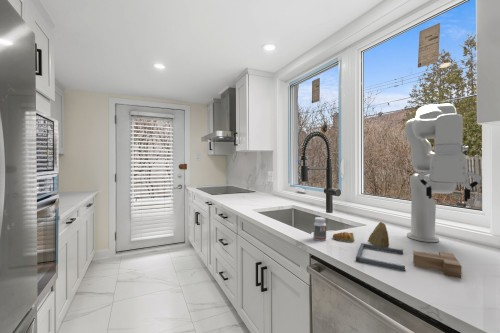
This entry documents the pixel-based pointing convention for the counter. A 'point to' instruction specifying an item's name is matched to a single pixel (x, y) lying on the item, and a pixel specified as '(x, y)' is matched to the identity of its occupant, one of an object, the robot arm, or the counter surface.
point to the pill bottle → (320, 229)
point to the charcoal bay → (377, 262)
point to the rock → (379, 236)
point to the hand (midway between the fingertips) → (447, 199)
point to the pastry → (344, 237)
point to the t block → (438, 262)
